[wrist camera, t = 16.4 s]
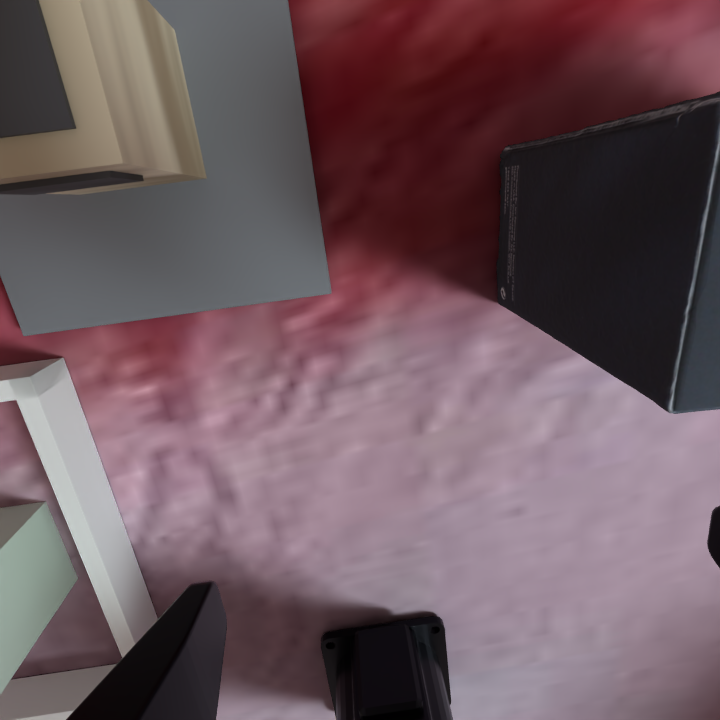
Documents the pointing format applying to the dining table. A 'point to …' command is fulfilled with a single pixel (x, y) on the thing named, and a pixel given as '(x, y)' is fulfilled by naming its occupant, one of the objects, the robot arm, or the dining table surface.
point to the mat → (187, 196)
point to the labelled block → (92, 99)
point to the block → (29, 580)
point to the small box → (622, 247)
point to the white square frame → (75, 532)
